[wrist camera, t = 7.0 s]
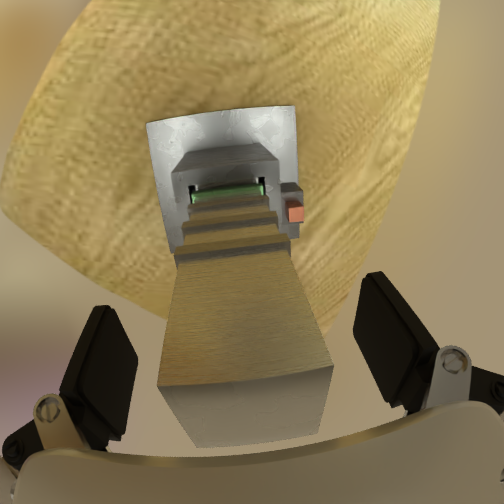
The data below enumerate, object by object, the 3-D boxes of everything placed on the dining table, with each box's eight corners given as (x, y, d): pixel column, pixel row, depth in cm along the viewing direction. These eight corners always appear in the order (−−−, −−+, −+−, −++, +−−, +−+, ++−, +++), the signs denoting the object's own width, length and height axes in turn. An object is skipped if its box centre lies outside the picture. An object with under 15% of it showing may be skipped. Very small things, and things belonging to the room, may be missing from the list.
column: (197, 176, 21) (145, 380, 5) (254, 169, 21) (344, 357, 6) (205, 227, 23) (192, 449, 8) (258, 220, 24) (322, 434, 8)
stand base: (148, 122, 24) (106, 134, 14) (292, 105, 25) (334, 106, 15) (172, 249, 31) (154, 314, 21) (297, 233, 32) (329, 293, 22)
